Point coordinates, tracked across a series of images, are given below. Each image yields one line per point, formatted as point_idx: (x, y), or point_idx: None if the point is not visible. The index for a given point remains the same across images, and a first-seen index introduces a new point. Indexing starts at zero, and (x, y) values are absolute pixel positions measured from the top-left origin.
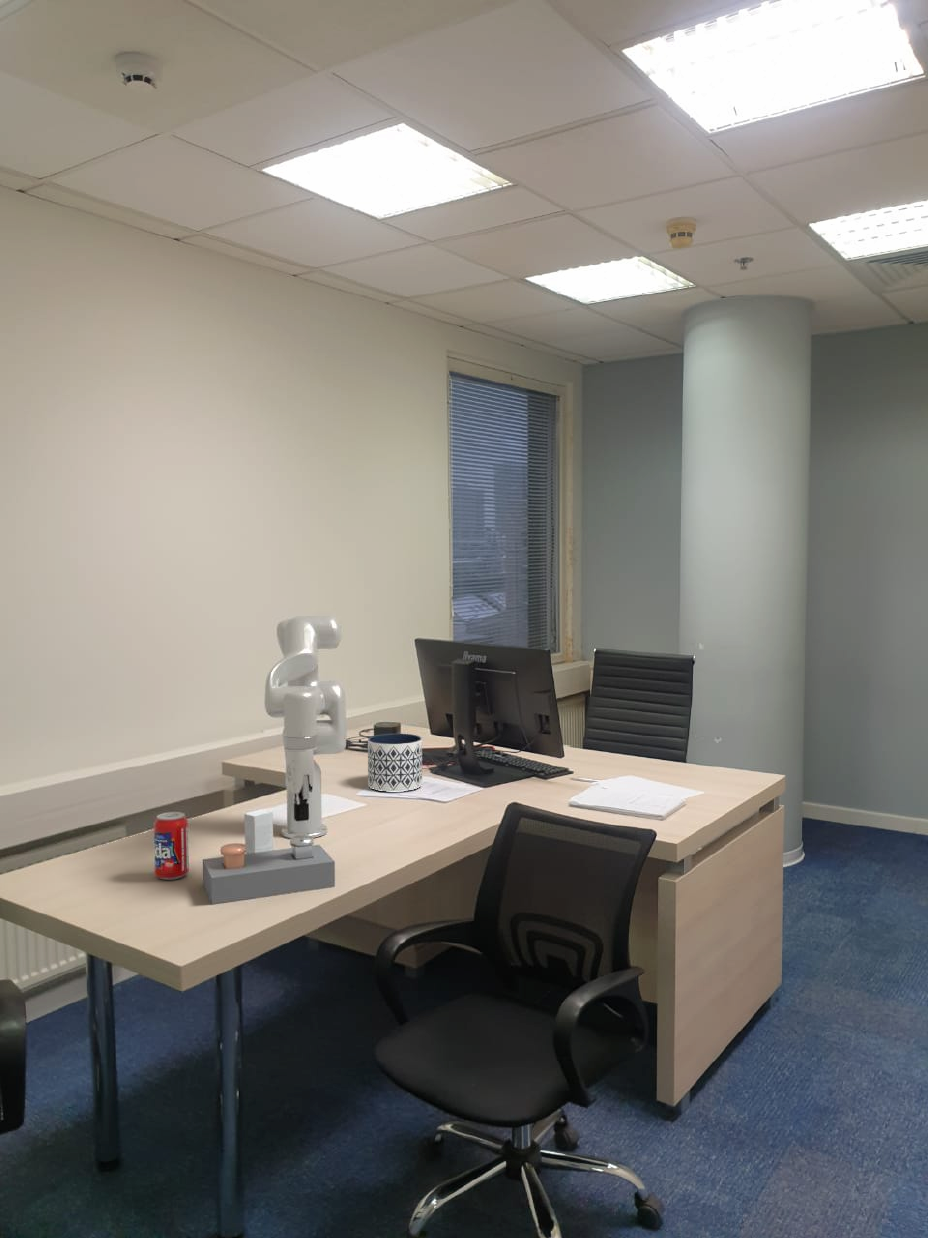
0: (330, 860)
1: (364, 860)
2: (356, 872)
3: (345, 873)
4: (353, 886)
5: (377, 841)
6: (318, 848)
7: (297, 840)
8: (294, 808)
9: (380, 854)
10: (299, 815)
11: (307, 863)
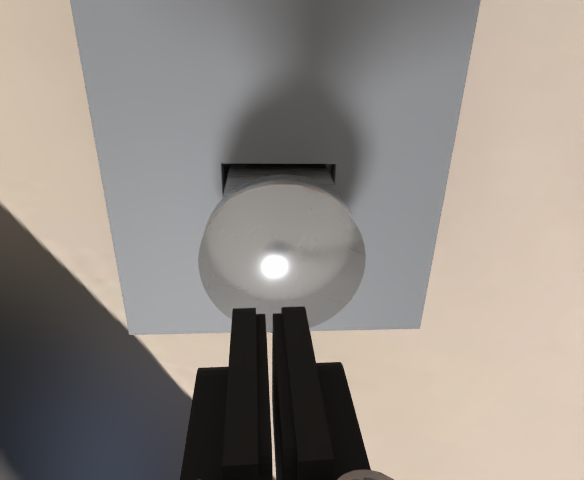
0: (149, 322)
1: (389, 410)
2: None
3: None
4: None
5: (539, 474)
6: (361, 314)
7: (251, 231)
8: (290, 401)
9: (417, 456)
10: (201, 380)
11: (133, 213)
